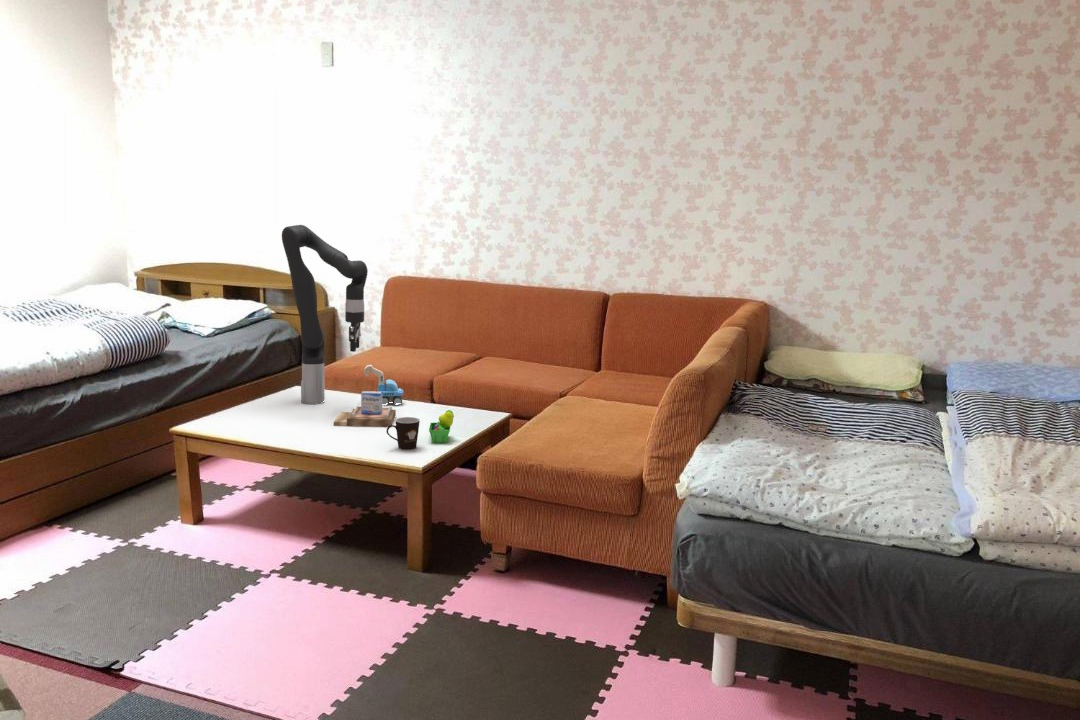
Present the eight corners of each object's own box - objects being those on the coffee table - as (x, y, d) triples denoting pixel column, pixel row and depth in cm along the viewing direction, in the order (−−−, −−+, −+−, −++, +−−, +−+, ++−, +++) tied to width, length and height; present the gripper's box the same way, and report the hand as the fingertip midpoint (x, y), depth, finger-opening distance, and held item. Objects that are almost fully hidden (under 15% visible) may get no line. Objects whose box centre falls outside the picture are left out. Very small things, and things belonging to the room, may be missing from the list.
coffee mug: (419, 443, 307) (419, 417, 305) (419, 450, 298) (420, 423, 297) (386, 443, 305) (386, 417, 303) (386, 450, 297) (386, 423, 295)
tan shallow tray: (333, 425, 326) (333, 415, 326) (340, 415, 342) (340, 405, 341) (390, 427, 328) (391, 416, 327) (395, 416, 343) (395, 406, 343)
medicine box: (360, 414, 332) (360, 392, 331) (362, 411, 337) (362, 390, 335) (381, 414, 333) (381, 393, 331) (382, 412, 337) (382, 391, 336)
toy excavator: (364, 401, 367) (364, 363, 364) (403, 401, 370) (403, 363, 367) (363, 406, 359) (364, 366, 356) (403, 406, 362) (404, 366, 359)
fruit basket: (430, 435, 319) (430, 406, 316) (453, 435, 319) (454, 406, 317) (428, 443, 307) (429, 413, 305) (453, 444, 308) (453, 414, 306)
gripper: (348, 307, 348) (348, 346, 351) (342, 312, 334) (342, 352, 337) (366, 308, 349) (366, 347, 352) (361, 312, 335) (361, 353, 338)
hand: (354, 349), depth 345 cm, fingers open, 8 cm apart
